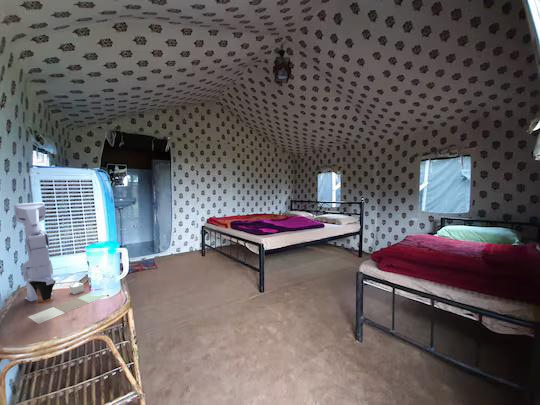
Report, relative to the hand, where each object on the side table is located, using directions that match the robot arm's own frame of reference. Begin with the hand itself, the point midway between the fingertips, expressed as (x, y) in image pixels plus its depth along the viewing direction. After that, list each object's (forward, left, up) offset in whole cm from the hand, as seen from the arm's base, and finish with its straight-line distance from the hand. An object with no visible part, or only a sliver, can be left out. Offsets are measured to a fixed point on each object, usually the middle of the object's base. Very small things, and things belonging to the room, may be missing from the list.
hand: (44, 298), depth 98 cm
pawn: (0, 0, -2) cm, 2 cm away
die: (-12, +16, -8) cm, 21 cm away
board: (0, +8, -8) cm, 11 cm away
